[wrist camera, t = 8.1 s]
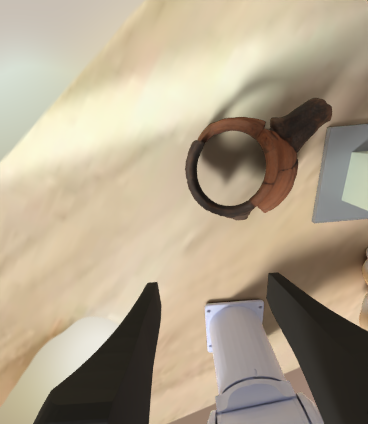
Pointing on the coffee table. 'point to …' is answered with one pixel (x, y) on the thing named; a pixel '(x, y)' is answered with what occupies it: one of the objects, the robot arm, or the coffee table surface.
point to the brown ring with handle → (273, 150)
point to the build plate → (338, 174)
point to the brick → (357, 181)
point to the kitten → (367, 311)
